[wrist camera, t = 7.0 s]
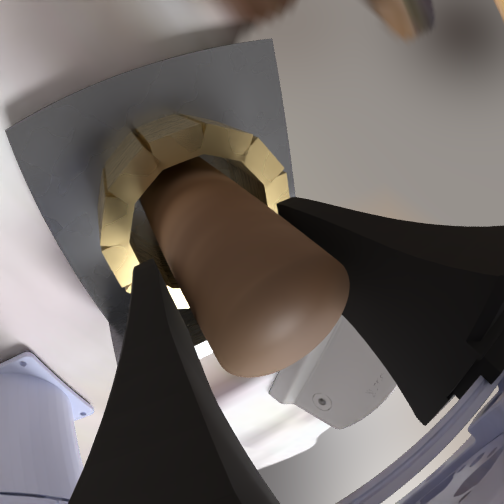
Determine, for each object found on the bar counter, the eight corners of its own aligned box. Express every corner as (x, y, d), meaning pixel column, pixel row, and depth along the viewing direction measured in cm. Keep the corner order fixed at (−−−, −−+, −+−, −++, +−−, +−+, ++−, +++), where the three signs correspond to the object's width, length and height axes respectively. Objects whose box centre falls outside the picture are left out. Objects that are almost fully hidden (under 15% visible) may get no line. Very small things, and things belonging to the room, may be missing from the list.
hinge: (328, 257, 22) (444, 326, 17) (352, 246, 26) (450, 302, 21) (267, 395, 29) (342, 451, 24) (292, 375, 33) (361, 424, 28)
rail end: (159, 237, 14) (245, 394, 7) (125, 175, 12) (187, 322, 5) (223, 201, 15) (351, 322, 8) (197, 137, 13) (345, 225, 6)
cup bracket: (114, 321, 16) (130, 390, 13) (11, 126, 9) (-31, 151, 5) (291, 237, 19) (342, 281, 16) (261, 40, 12) (330, 32, 8)
